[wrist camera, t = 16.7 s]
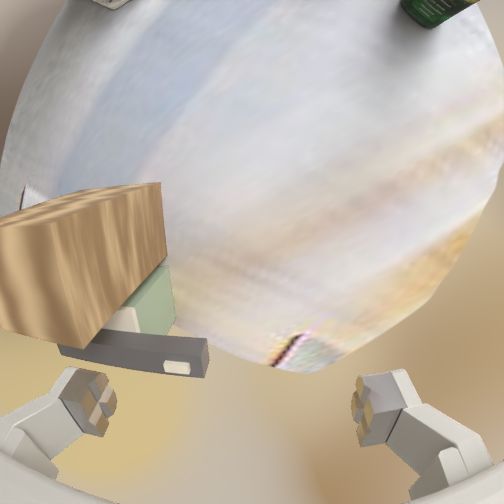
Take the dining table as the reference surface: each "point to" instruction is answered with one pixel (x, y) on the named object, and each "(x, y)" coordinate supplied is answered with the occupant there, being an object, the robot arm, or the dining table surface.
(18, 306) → the oak stand
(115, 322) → the block
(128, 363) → the grey bar with knob
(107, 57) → the dining table surface
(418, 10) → the coffee jar
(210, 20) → the dining table surface
